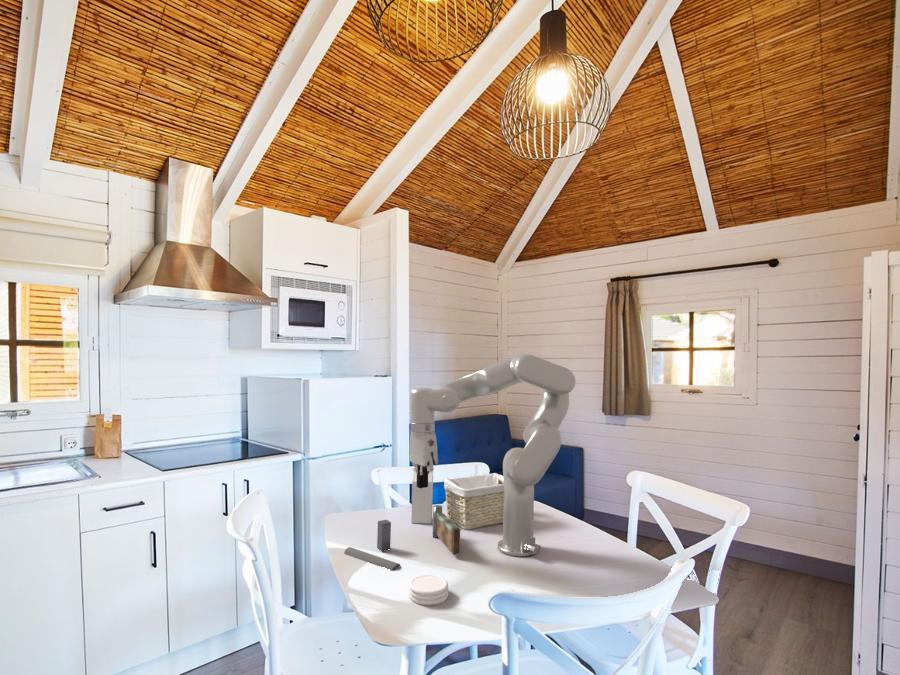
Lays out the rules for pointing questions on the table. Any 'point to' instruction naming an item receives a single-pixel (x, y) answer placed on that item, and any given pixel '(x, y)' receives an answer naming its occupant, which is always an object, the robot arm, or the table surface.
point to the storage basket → (475, 500)
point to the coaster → (428, 590)
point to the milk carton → (422, 500)
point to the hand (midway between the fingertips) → (422, 487)
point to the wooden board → (448, 533)
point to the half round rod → (371, 558)
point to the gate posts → (385, 530)
